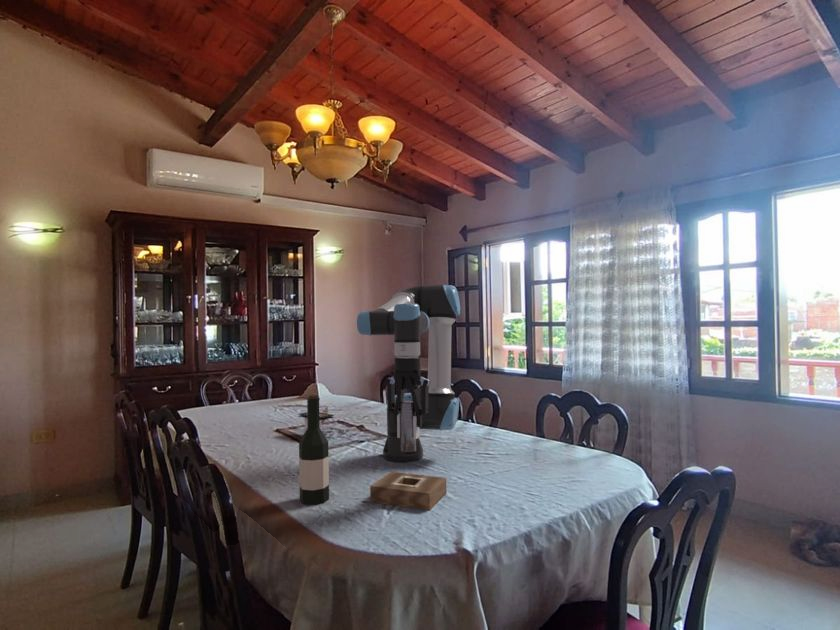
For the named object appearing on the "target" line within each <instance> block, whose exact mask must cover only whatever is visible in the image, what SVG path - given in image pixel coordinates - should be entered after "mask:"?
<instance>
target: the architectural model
mask: <svg viewBox="0 0 840 630" xmlns="http://www.w3.org/2000/svg"><path fill="white" fill-rule="evenodd" d="M328 408H329V407H328V406H325V409H324V410H322V412H320V411H319V425H320V429H321V431H322V432H323V429H322V428H323V427H322V425H323V424H324V422H326V420H328V419H333V418H335V415H334V414H330V413H329V411H328ZM297 415H298V417H300V418H304V432H305V431H306V430H307V428H308V424H307V411H306V412H301V413H297Z"/></svg>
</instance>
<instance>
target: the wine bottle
mask: <svg viewBox="0 0 840 630" xmlns="http://www.w3.org/2000/svg"><path fill="white" fill-rule="evenodd" d="M306 405H307V406H306V409H307V411H306V412H307V424H308V428H307V430H306V431H305V430H304V433H303V435H302V437H301V439H300V440H299V442H298V457H299V459H298V460H299V461H298V462H299V463H298V464H299V465H298V466H299V467H298V468H299V470H298V473H299V474H298V475H299V479H298V480H299V501H300V503H301V504H302V505H307V506H316V505H317V506H318V505H321V504H325V503H326V502H328V501H329V500H330V475H329V474H330V471H329V469H330V464H329V460H330V459H329V454H330V453H329V452H330V451H329V440H328V438H327V437H326V436H325V434H324V432H323V430H322V431H321V429H320V425H319V412H320V398H319V397H318V395H316V394H310V395H309V396H308V398H307V399H306Z"/></svg>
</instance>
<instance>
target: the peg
mask: <svg viewBox="0 0 840 630" xmlns="http://www.w3.org/2000/svg"><path fill="white" fill-rule="evenodd" d="M400 413H401V451H402V452H415V451H416V439H414V437H413V416H415V415H416V413H415V409H414V404H413V401H402V402H400Z"/></svg>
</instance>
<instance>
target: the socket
mask: <svg viewBox="0 0 840 630" xmlns="http://www.w3.org/2000/svg"><path fill="white" fill-rule="evenodd" d="M369 488H370V489H369V491H370V493H369V494H370V503H376V504H381V505H382V504H383V505H388V506H389V505H391V506H398V507H403V508H413V509H420V510H424V511H425V510H427V511H431V510H432V509H433V508H434V507H435V506H436V504H438V503H439V502H440V500H442V498H443V497H444V496H446V494H447V477H441V476H440V477H439V476H433V475H431V476H430V475H424V474H423V475H422V474H413V473H405V472H396V471H390V472H389V473H387V474H386V475H384V476H383V477H381V478H379V480H377V481H376V482H374V483H373V484H371V485H370V486H369Z"/></svg>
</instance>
